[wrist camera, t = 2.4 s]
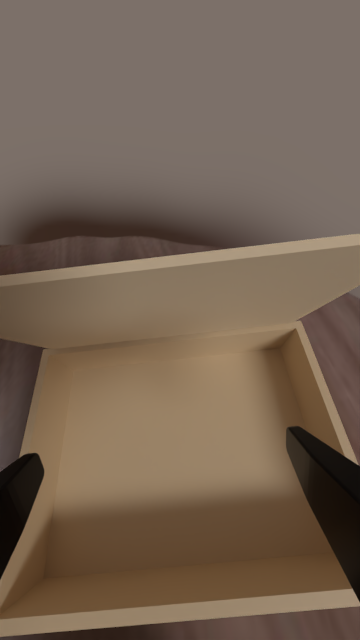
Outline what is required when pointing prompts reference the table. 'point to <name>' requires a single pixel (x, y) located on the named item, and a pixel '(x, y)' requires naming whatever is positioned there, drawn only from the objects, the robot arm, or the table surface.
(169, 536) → the carton
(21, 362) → the table surface
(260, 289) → the carton flap
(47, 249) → the table surface
